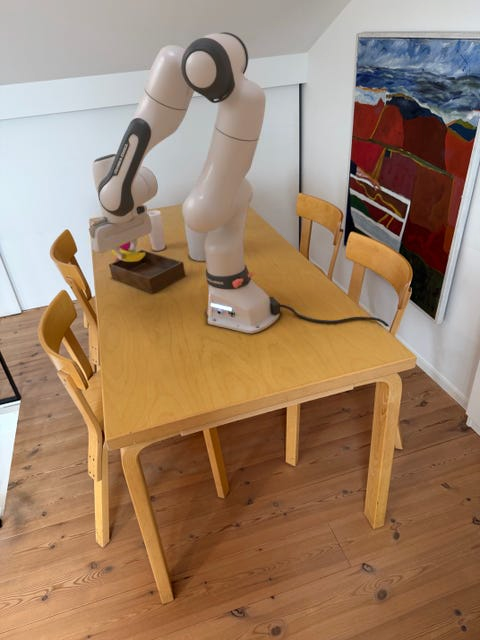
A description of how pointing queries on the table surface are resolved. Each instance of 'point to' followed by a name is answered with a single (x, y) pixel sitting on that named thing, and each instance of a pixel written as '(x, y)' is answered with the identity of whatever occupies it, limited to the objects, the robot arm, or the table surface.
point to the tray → (148, 272)
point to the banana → (130, 255)
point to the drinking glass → (156, 231)
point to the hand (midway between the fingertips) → (127, 256)
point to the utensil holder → (196, 244)
